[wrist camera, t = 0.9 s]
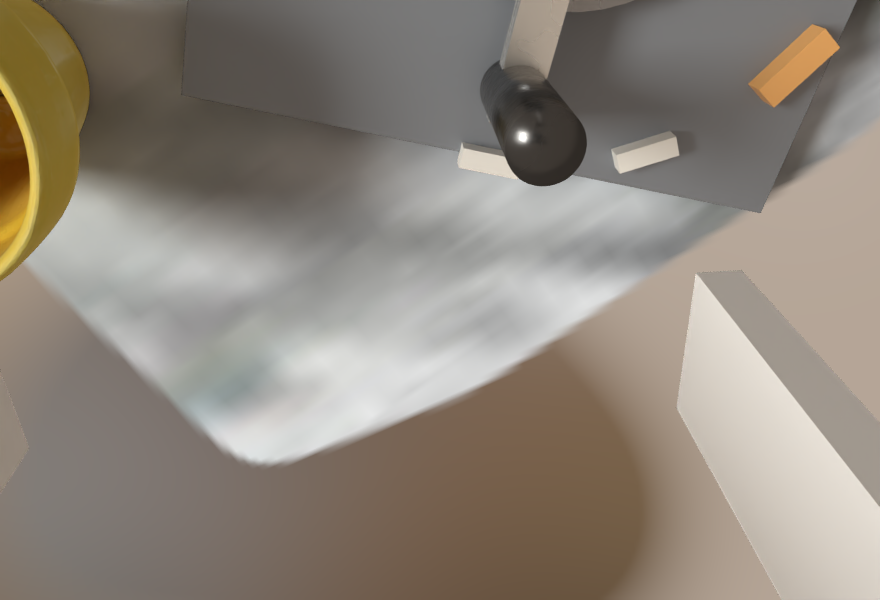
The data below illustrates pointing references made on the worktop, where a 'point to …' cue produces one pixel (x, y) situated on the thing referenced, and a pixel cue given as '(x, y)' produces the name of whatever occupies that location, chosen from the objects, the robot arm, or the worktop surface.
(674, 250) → the worktop surface
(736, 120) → the dial plate
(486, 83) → the dial
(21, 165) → the plant pot
